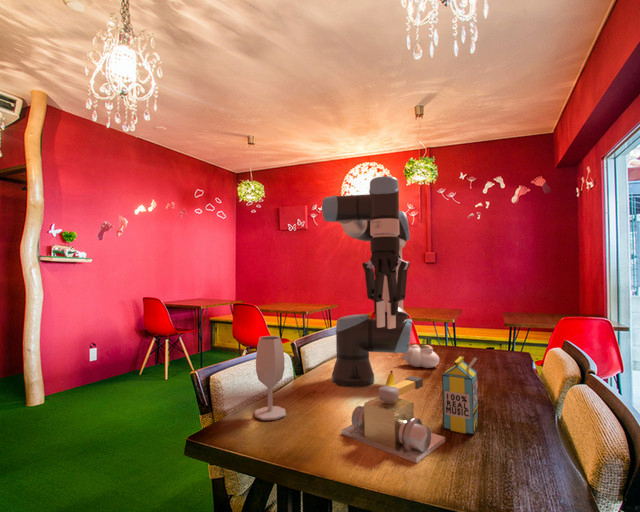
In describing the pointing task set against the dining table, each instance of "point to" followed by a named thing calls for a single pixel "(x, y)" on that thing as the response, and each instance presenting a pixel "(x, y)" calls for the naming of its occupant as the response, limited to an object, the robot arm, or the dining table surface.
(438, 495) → the dining table surface
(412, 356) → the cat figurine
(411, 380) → the lever
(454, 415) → the carton
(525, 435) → the dining table surface
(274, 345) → the wineglass
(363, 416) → the valve body
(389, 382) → the banana
